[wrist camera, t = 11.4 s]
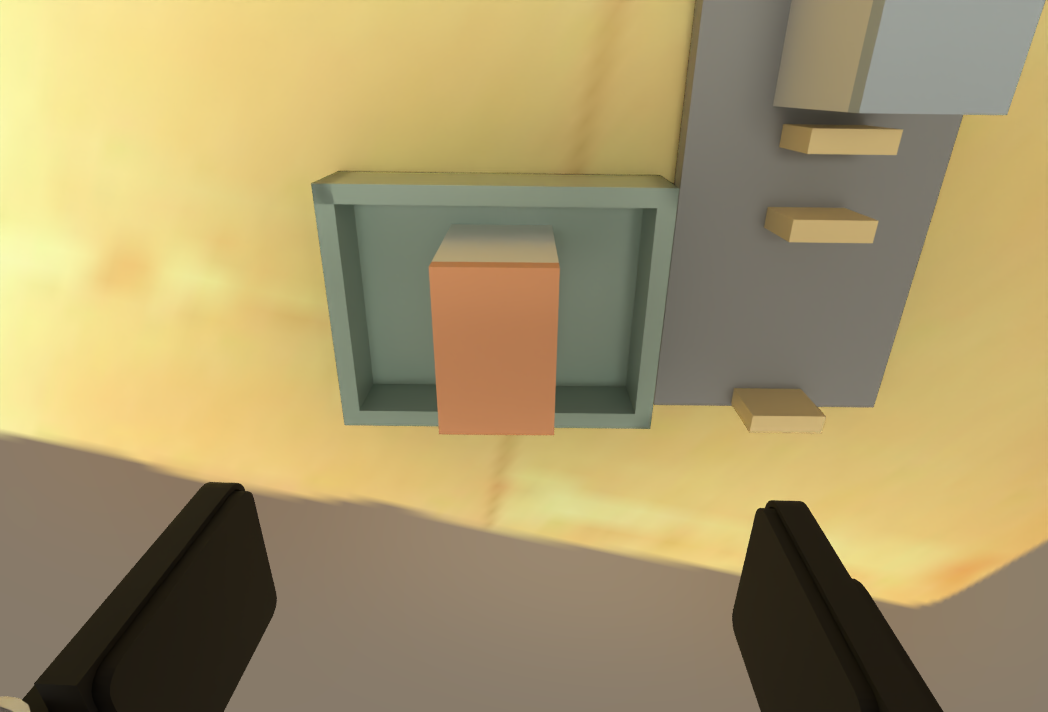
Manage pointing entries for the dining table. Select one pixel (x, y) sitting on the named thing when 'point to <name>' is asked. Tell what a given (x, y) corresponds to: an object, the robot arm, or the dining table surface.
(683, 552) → the dining table surface
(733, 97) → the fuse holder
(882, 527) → the dining table surface
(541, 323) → the block
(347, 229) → the tray
